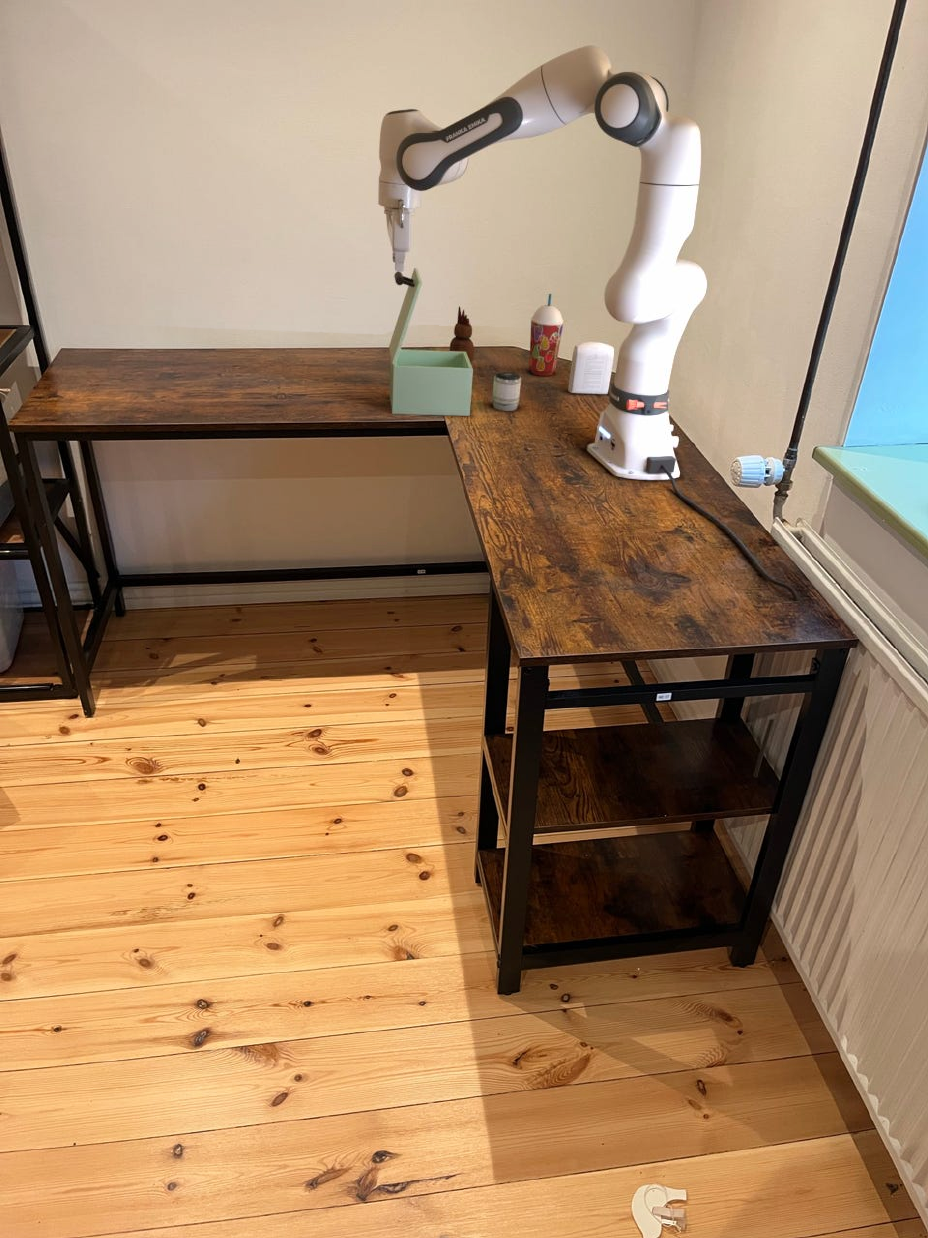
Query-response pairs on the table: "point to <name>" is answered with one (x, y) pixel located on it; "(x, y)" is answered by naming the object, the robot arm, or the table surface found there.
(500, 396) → the camera lens
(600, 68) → the robot arm
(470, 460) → the table surface
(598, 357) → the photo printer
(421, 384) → the storage box
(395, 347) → the lid
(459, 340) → the wooden figurine
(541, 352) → the smoothie
